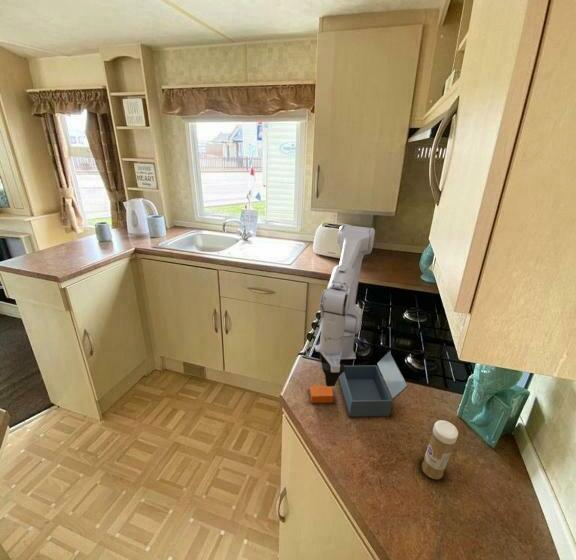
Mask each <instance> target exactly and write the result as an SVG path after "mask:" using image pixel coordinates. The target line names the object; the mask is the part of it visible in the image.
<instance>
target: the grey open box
mask: <svg viewBox="0 0 576 560" xmlns="http://www.w3.org/2000/svg"><path fill="white" fill-rule="evenodd" d="M344 367H345V371H344V372H343V373H342V374H341V375H340V376H339V383H340V386H341V390H342V394H343V398H344V401H345V406H346V409H347V413H348V416H349V417H350V418H351V417H387V416H388V417H389V416H390V414H391V409H392V405H393V402H394V399H393V398H392V396H391V393H390V391H389V389H388V387H387V385H386V382H385V380H384V378H383V376H382V373H381V371H380V369H379V367H378V365H376V364H374V365H370V364H369V365H367V364H365V365H364V364H363V365H344Z"/></svg>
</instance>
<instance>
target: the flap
mask: <svg viewBox="0 0 576 560" xmlns="http://www.w3.org/2000/svg"><path fill="white" fill-rule="evenodd" d="M376 364H377V367H378V369H379V371H380V374H381V376H382V378H383V380H384V383H385V385H386V387H387V389H388V392H389V394H390V396H391V398H392V400H395V399H396V398H397V397H398V396H399V395H400V394H402V393H403V392H404V391H405V390H406V389H407V388H408V387H409V384H408V383H407V381H406V379H405V378H404V376H403V374H402V372H401V370H400V368H399V366H398V365H397V362H396V360H395V359H394V357H393V356H392V354H391V352H390V351H388V352H387V353H386V354H384V356H383V357H382V358H380V360H379V361H378V362H376Z"/></svg>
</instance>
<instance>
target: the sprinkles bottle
mask: <svg viewBox="0 0 576 560" xmlns="http://www.w3.org/2000/svg"><path fill="white" fill-rule="evenodd" d="M458 437H459V431H458V429H457V427H456V426H455V425H454V424H453V423H451V422H449V421H447V420H443V419H440V420H437V421H435V423H434V425H433V428H432V434H431V437H430V440H429V443H428V445H427V447H426V448H427V449H426V451H425V453H424V458H423V460H422V462H421V469H422V472H423V473H424V475H426V476H427V477H428V478H430V479H432V480H440V479H442V478H443V476H444V472H445V469H446V467H447V465H448V463H449V459H450V456H451V454H452V451H453V448H454V445H455V443H456V442H457V440H458Z"/></svg>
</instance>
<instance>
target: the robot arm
mask: <svg viewBox="0 0 576 560" xmlns="http://www.w3.org/2000/svg"><path fill="white" fill-rule="evenodd" d="M375 233H376V230H375V229H374V227H364V226H355V225H348V224H345V223H344V224H342V225H341V226H339V229H338V233H337V244H338V247H339V248H340V251H341V255H340V259H339V264H338V265H335V267H333V269H332V271H331V275H330V278H329V281H328V284H327V287H326V289H323V291H322V293H321V296H320V301H319V311H320V318H321V325H320V326H321V327H320V337H319V340H317V341H316V344H315V345H314V350H315V352H317V353H319V355H320V361H321V362H320V363H321V364H320V365H321V370H322V372H323V373H324V378H325V379H324V380H325V386H331V387H335V386H336V384H337V381H338V379H340V375H341V374H342V373H343V372H344V371H345V367H344V366H345V364H340V363H341V360H356V359H357V356H356V353H355V351H354V348H355V347H354V346H355V339H356V335H358V334H359V333H360V331H361V327H362V322H363V310H362V309H361V307H360V306H358V305H357V304H356V301H357V296H358V295H357V294H358V289H359V288H358V287H359V281H360V277H361V276H360V275H361V269H362V261H363V259H364V257H365V255H370V254H372V253H371V252H372V251H373V245H374V241H375V235H376V234H375Z"/></svg>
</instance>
